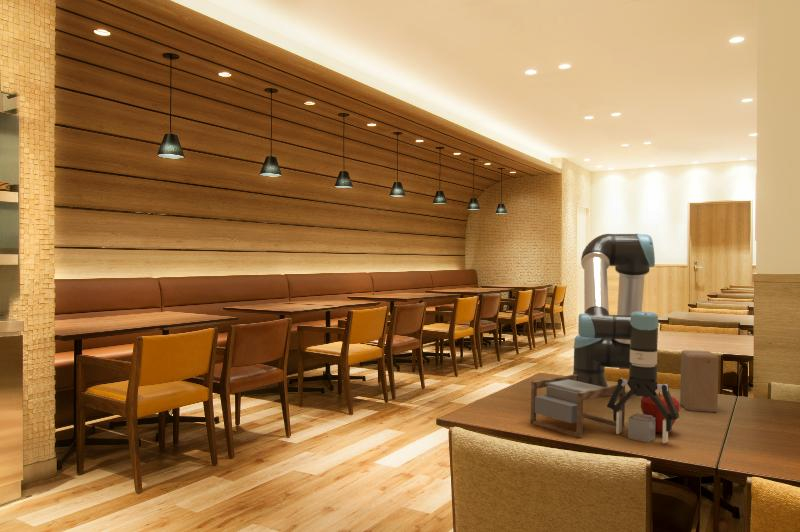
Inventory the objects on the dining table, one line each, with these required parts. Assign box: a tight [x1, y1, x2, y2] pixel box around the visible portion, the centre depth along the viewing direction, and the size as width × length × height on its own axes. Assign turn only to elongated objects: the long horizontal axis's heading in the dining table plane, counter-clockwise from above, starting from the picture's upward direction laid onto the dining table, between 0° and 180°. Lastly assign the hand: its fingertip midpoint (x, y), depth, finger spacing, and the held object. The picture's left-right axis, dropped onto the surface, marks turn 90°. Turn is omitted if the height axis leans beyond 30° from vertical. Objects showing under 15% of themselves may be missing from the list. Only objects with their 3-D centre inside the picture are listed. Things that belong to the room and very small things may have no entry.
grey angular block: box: [535, 379, 604, 424], centre depth 182 cm, size 17×16×9 cm
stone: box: [627, 413, 656, 444], centre depth 171 cm, size 6×6×7 cm
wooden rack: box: [530, 374, 626, 439], centre depth 184 cm, size 22×19×13 cm
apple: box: [640, 391, 680, 433], centre depth 178 cm, size 11×11×12 cm
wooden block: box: [679, 349, 720, 413], centre depth 207 cm, size 10×10×20 cm
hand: (641, 437), depth 171 cm, fingers open, 12 cm apart
